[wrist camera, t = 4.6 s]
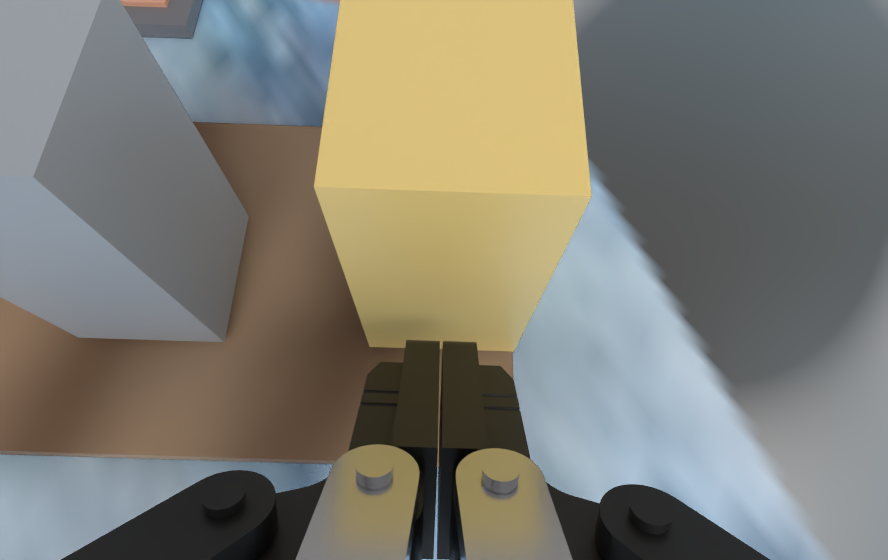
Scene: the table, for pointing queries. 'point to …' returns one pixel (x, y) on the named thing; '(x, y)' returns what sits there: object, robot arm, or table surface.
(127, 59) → the grey rectangular block
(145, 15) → the card
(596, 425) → the table surface
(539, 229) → the yellow tall block
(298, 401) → the keypad base
